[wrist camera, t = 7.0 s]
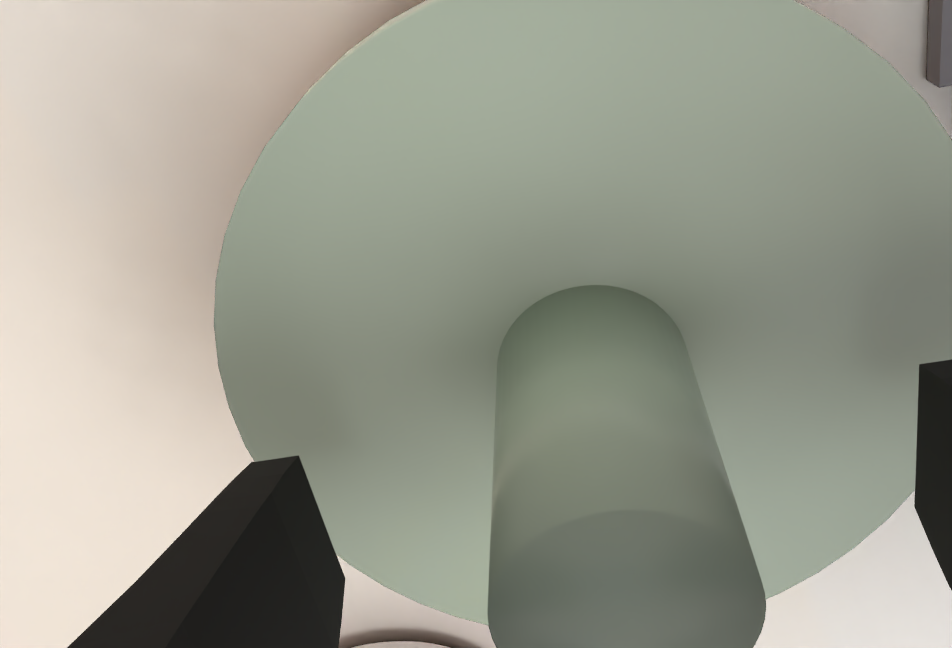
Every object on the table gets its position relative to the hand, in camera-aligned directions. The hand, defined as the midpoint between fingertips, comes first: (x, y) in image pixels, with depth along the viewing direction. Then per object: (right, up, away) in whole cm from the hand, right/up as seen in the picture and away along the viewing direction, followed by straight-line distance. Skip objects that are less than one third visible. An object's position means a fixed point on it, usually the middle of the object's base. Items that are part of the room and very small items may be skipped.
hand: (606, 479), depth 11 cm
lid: (0, +2, +2) cm, 3 cm away
